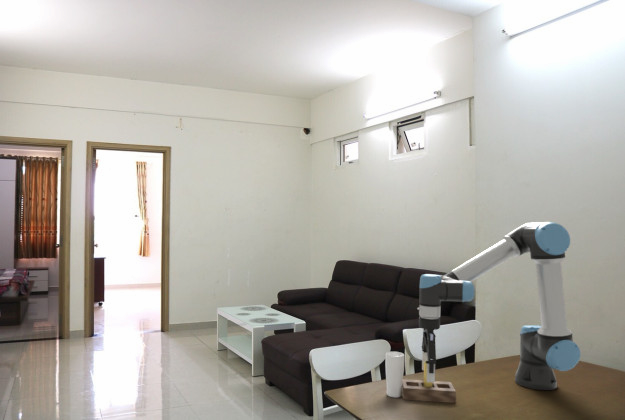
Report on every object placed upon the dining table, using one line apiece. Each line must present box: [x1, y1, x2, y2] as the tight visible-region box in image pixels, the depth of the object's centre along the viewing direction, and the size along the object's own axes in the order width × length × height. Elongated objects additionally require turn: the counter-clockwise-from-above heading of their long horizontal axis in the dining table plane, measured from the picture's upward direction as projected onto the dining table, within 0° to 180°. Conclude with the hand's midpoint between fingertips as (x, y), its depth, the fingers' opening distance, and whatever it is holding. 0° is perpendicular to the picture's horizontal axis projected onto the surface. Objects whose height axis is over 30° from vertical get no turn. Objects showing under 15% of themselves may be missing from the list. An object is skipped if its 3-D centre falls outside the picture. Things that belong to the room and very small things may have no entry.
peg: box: [423, 362, 433, 387], centre depth 178 cm, size 3×3×12 cm
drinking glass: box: [384, 351, 405, 398], centre depth 177 cm, size 7×7×15 cm
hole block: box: [401, 378, 457, 404], centre depth 177 cm, size 18×10×4 cm, turn 84°
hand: (428, 375), depth 177 cm, fingers open, 13 cm apart
